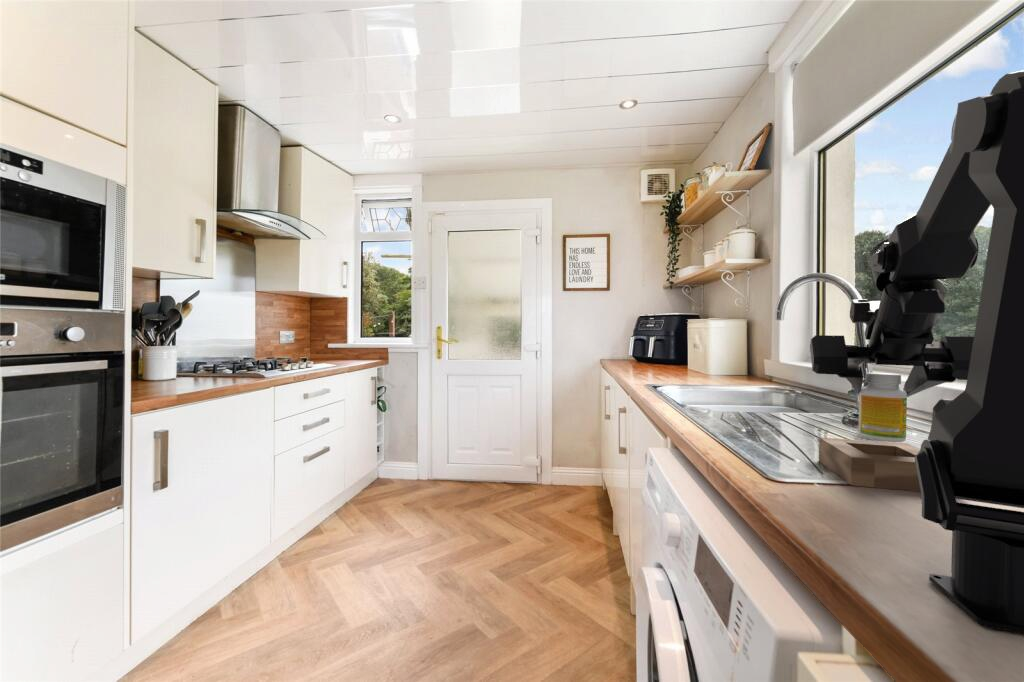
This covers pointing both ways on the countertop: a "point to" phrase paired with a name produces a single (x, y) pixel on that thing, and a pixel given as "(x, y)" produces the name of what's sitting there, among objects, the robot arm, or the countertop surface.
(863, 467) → the walnut collar
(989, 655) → the countertop surface
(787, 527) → the countertop surface
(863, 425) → the supplement bottle
